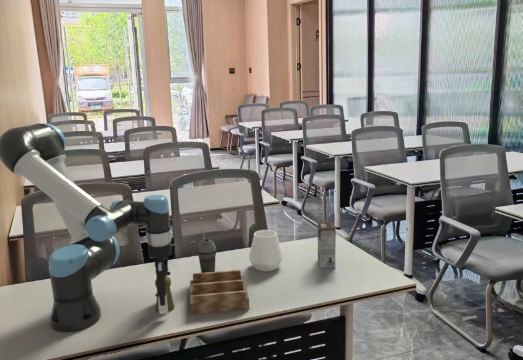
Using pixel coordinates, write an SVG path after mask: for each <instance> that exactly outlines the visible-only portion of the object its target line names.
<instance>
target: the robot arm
mask: <svg viewBox="0 0 523 360" xmlns="http://www.w3.org/2000/svg"><path fill="white" fill-rule="evenodd" d="M66 144H67V142H66V137H65V135H64V133H63V131H62V130H61V129H60V128H58V127H57V126H56V125H54V124H51V123H34V124H30V125H23V126H18V127H12V128H9V129H8V130H5V131H4V132H3V133H2V134H1V136H0V161H1V163H2V164H3V165H4V166H5V167H6V169H8V170H9V171H10V173H11V172H12V173H13V174H14V175H15V176H16V177H23V178H25V179H26V180H27V181H28V182H30V183H31V184H33V185H34V186H35V187H36V188H38V189H39V190H40V191H41V192H43V193H44V194H45V195H46V196H48V197H49V198H51V200H52V201H53V204H54V205H55V208H56V209H57V212H58V213H59V215H60V217H61V219H62V220H63V222H64V225H65V226H66V227H65V228H66V229H67V230H68V233H69V235H70V236H71V239H70V242H69V245H66V246H62V247H60V248H58V249H56V250H54V251H53V252H52V253H51V254H50V256H49V258H48V272H49V273H48V274H49V278H50V283H51V284H50V285H51V291H52V297H53V304H52V308H51V313H50V318H49V319H50V327H51V328H52V329H53V330H55V331H58V332H74V331H76V332H77V331H80V330H83V329H86V328H89V327H91V326H93V325H94V324H96V323H97V322H98V321H99V320H100V318H101V317H102V312H101V306H100V305H99V303H98V301H97V299H96V297H95V295H94V292H93V285H92V280H93V279H95V278H96V277H98V276H99V275H101V274H102V273H103V272H105V271H107V270H109V269H110V268H112V266H113V265H115V263H116V262H117V261H118V260H119V257H120V254H121V253H120V244H119V242H118V240H117V239H116V237H114V236H115V235H117V234H118V233H119V232H122V231H124V230H125V229H127V228H128V227H130V226H133V225H135V226H145V227H146V228H145V229H146V241H147V244H148V245H147V248H148V249H147V250H148V255H149V257H150V258H153V259H155V261H154V267H155V276H156V279H157V287H156V293H155V294H154V295H155V297H156V298H157V297H158V304H159V312H158V314H159V315H165V314H169V312H168V305H167V294H166V280H165V276H168V277H169V276H171V271H169V265H168V262H169V258H168V257H169V256H171V255H172V253H173V243H172V236H173V232H172V231H171V219H170V206H169V199H168V197H167V196H166V195H164V194H151V195H148V196H146V197H144V199H143V201H137V200H136V201H135V200H127V199H126V200H125V199H122V200H115V201H113V202H112V203H111V205H110V206H109V208H107V207H106V206H104V205H103V204H101V202H99V201H98V200H97V199H95V198H94V197H92V195H90V194H88V193H87V192H86V191H85V190H83V189H82V188H81V187H80V186H78V185H77V184H76V182H75V181H74V179H73V177H72V175H71V172H70V171H69V170H68V167H67V165H66V164H65V160H66V158H67V155H66V153H65V150H66ZM169 278H170V277H169Z"/></svg>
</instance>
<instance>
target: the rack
mask: <svg viewBox="0 0 523 360" xmlns="http://www.w3.org/2000/svg"><path fill="white" fill-rule="evenodd" d="M241 273H242V271H241V269H233V270H221V271H220V270H219V271H215V272H207V273H201V272H199V273H192V280H189V281H190V285H189V286H190V294H189V295H190V296H189V297H190V298H189V301H190V303H189V305H190V315H198V314H199V315H200V314H201V315H202V314H209V313H210V314H211V313H212V314H213V313H220V312H231V311H241V310H250V298H249V293H248V290H247V285H246V281H245V277H244V275H241Z"/></svg>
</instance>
